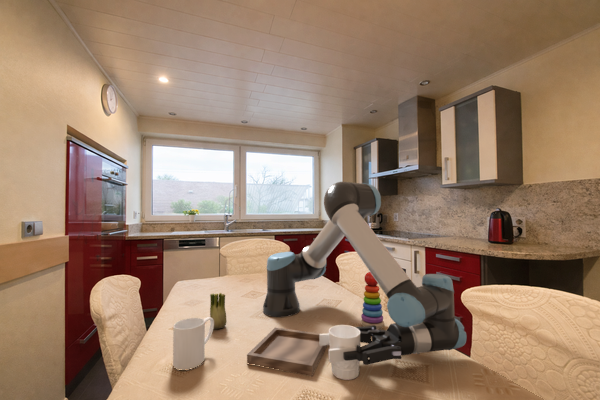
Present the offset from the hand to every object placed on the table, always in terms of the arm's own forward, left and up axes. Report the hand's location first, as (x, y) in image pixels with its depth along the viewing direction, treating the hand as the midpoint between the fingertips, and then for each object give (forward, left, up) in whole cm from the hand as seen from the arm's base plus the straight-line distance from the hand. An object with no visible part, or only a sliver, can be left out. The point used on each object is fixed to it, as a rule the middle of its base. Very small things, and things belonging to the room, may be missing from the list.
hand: (324, 347), depth 66 cm
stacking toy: (+9, +33, -7) cm, 35 cm away
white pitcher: (-36, -4, -7) cm, 37 cm away
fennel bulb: (-43, +16, -7) cm, 46 cm away
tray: (-12, +7, -6) cm, 15 cm away
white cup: (+5, +3, -7) cm, 9 cm away
